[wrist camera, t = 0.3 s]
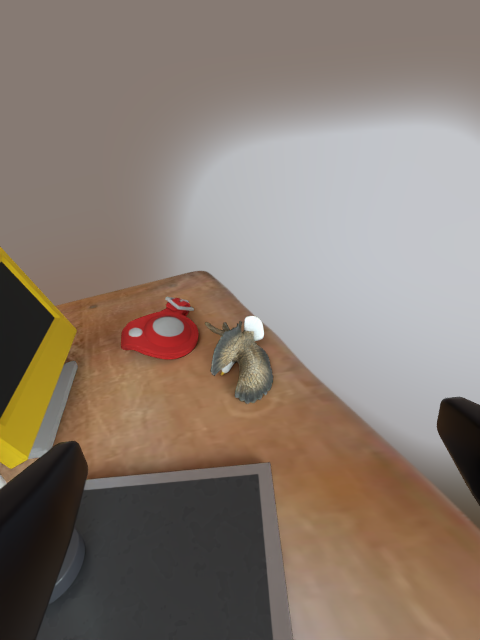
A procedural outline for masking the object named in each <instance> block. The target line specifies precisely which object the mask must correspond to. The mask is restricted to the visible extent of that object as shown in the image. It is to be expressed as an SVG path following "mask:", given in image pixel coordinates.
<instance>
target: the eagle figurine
mask: <svg viewBox="0 0 480 640" xmlns="http://www.w3.org/2000/svg"><path fill="white" fill-rule="evenodd" d="M205 325H206V326H207V327H208V328H209V329H210V330H211V331H212V332H214V333H216V334H219V335H220V336H222V337H221V339H220V340H219V342H218V344H217V346H216V348H215V350H214V354H213V360H212V367H211V372H212V375H214V376H215V375H216V374H217V373H218V372H219V371H220V370H221V369H222V372H221V374H220V375H223V374H224V373H227V372H229V371H230V369H231V368H232V366H233V364H234V363H236V362H238V364H239V380H238V383H237V387H236V390H235V397H236V398H239V400H240V401H245V403H250V402H251V403H254V402H255V401H256V400H257V399H258V400H260V399H261V398H262V396H263V394H265V395H266V394H267V391H269V390H270V389H271V386H272V383H273V375H272V369H271V367H270V366H271V365H270V361H269V357H268V355H267V354H266V352H265V351H264V350H263V349H262V348H260V346H258V345H257V344H256V343H255V342H254V341H257V340H260V339H262V338H263V336H264V330H263V324H262V323H261V320H260V319H259V318H257V317H254V316H248V317H246V318H245V321H244V331H243V332H242V331H241V325H242V322H241V321H239V324H237V327H236V328H233V329H232V330H229V327H228V325H227V324H226V322H224V323H223V326H222V329H223V330H220V329H218V328H215V327H213V326H212V325H211V324H210V323H208V322H205Z"/></svg>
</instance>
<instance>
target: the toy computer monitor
mask: <svg viewBox="0 0 480 640" xmlns="http://www.w3.org/2000/svg"><path fill="white" fill-rule="evenodd" d="M76 332H77V330H76V329H75V327H74V326H73V325H72V324H71V323H70V322H69V321H68V320H67V319H66V318H65V317H64V315H63V314H62V313H61V312H60V311H59V310H58V309H57V308H56V307H55V306H54V305H53V304H52V302H51V301H50V300H49V299H48V298H47V297H46V296H45V295H44V294H43V293H42V292H41V290H40V289H38V287H37V286H36V285H35V284H34V283H33V282H32V281H31V280H30V279H29V277H28V276H27V275H25V273H24V272H23V271H22V270H21V269H20V268H19V267H18V265H17V264H16V263H15V262H14V261H13V260H12V259H11V258H10V257H9V256H8V255H7V254H6V252H5V251H4V250H3V249H2V248H1V247H0V462H1V463H2V464H4V465H6V466H7V467H9V468H10V469H11V468H14V467H16V466H18V465H19V464H21V463H23V462H24V461H26V460H28V459H30V458H40V457H41V456H42V455H44V454H45V453H46V452H48V451H49V450H50V449H51V448H52V446H53V443H54V440H55V436H56V433H57V430H58V427H59V424H60V421H61V417H62V414H63V411H64V408H65V405H66V402H67V399H68V395H69V392H70V389H71V386H72V383H73V380H74V377H75V373H76V370H77V367H78V366H77V363H76V361H71V362H68V363H65V361H66V358H67V355H68V353H69V350H70V348H71V345H72V342H73V340H74V337H75V335H76ZM64 363H65V364H64Z"/></svg>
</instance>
